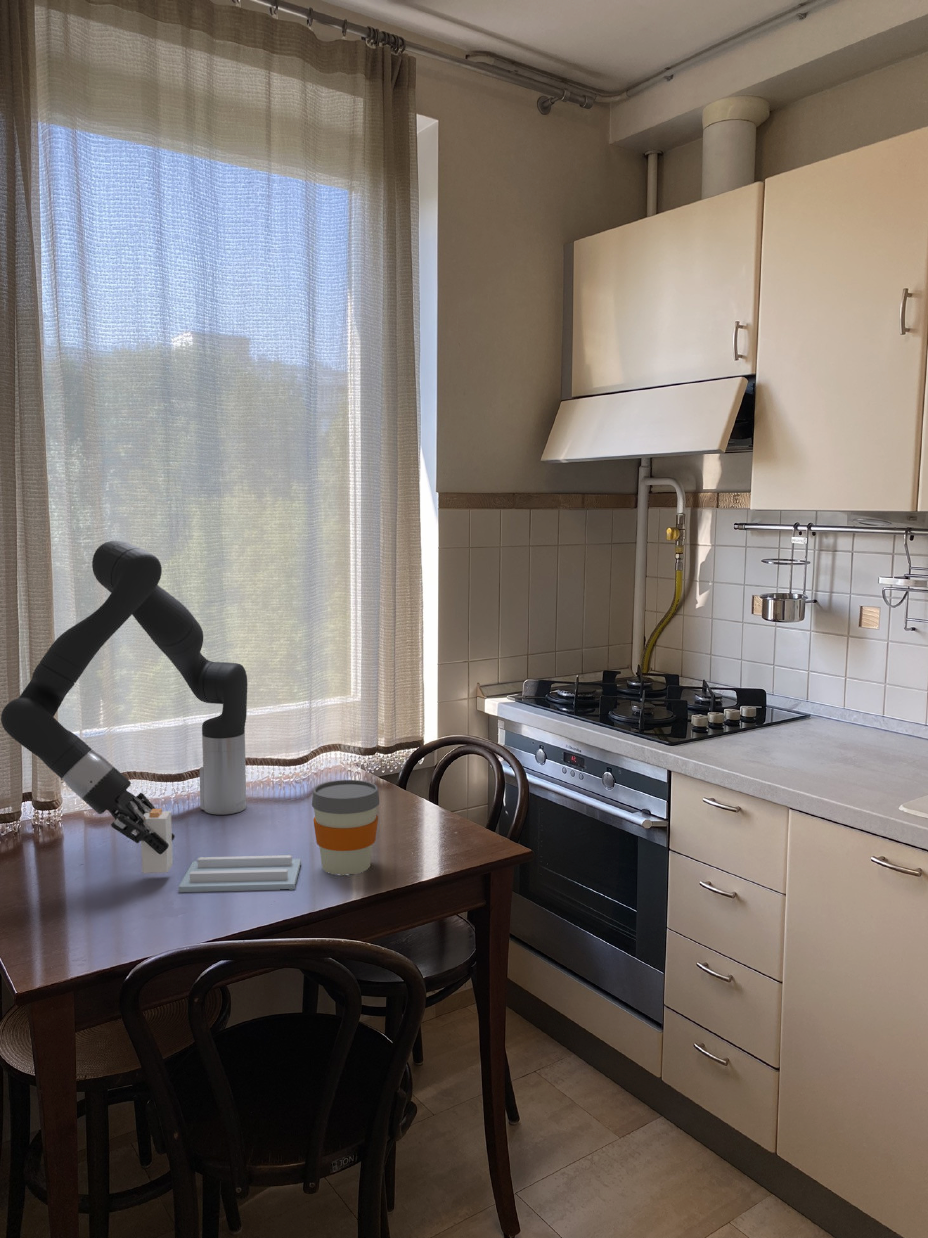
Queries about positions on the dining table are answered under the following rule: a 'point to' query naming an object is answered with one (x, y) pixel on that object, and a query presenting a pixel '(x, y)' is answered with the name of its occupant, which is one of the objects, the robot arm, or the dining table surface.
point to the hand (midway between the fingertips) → (167, 845)
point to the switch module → (163, 828)
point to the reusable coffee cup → (345, 824)
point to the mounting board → (241, 873)
